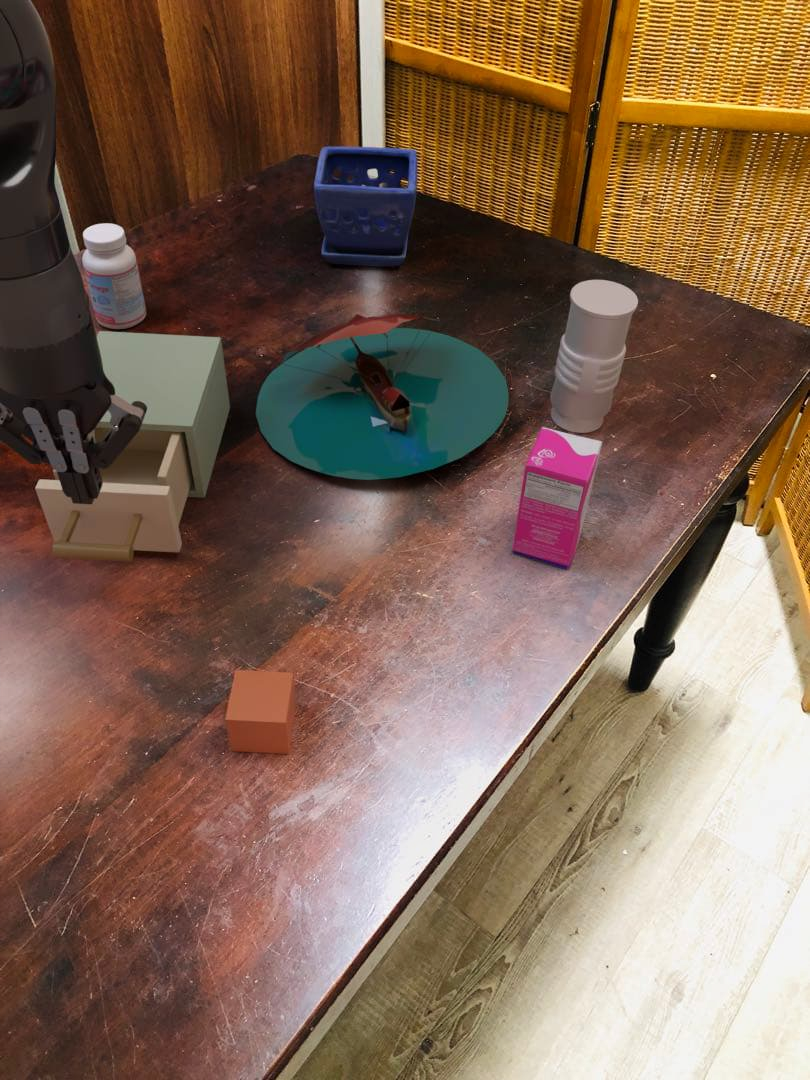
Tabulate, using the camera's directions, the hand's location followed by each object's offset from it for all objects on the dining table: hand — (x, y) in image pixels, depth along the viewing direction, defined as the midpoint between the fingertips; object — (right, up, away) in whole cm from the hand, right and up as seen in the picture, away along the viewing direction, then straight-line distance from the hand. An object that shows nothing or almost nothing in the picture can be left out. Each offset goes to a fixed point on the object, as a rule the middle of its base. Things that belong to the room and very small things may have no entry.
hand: (86, 497), depth 72 cm
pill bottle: (-9, +24, +37) cm, 45 cm away
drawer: (0, -1, +11) cm, 11 cm away
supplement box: (+40, -4, +13) cm, 42 cm away
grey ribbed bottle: (+46, +10, +26) cm, 54 cm away
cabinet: (0, +6, +20) cm, 21 cm away
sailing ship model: (+24, +11, +26) cm, 37 cm away
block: (+15, -18, -3) cm, 24 cm away
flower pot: (+21, +37, +51) cm, 66 cm away
